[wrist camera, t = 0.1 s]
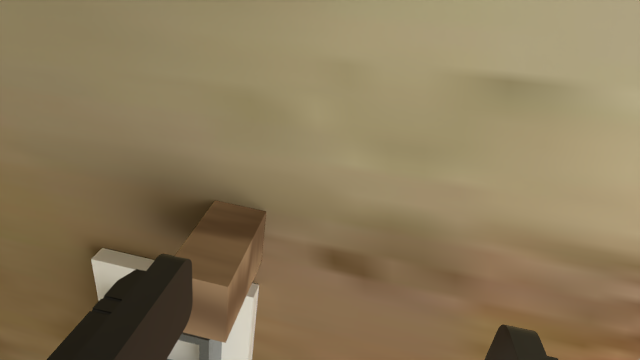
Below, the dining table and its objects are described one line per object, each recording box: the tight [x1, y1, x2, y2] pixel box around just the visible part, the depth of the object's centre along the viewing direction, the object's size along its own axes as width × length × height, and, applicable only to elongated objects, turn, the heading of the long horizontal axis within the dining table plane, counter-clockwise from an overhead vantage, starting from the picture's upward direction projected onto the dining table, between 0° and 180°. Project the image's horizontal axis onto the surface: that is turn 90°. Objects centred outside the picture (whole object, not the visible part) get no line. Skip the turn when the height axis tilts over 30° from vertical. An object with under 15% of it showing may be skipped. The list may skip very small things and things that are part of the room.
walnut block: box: [175, 200, 266, 343], centre depth 29 cm, size 5×4×8 cm
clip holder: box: [91, 248, 259, 360], centre depth 37 cm, size 14×14×4 cm
